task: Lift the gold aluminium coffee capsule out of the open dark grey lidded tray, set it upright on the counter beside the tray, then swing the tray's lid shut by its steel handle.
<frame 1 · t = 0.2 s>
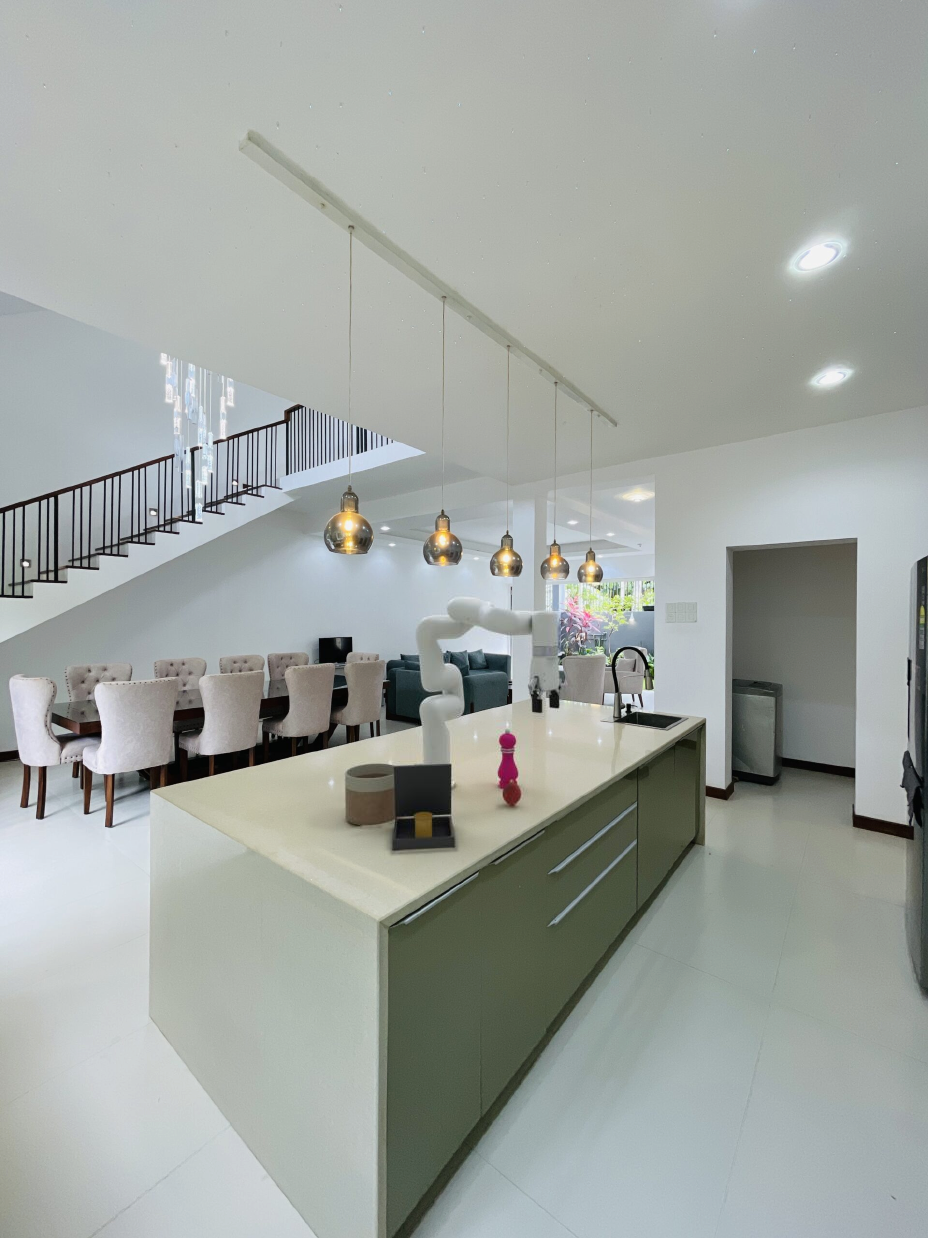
hand: (546, 710, 152), 31 cm above the table, tool pointing down, fingers open, 9 cm apart
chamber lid: (422, 786, 143), point 12 cm above the table, hinge at 75.0°
planter: (373, 817, 152), on the table
dark grey lidded tray: (423, 839, 136), on the table
onion: (511, 806, 160), on the table
coffee pod: (423, 838, 135), point 1 cm above the table, touching dark grey lidded tray
pepper mill: (508, 787, 179), on the table
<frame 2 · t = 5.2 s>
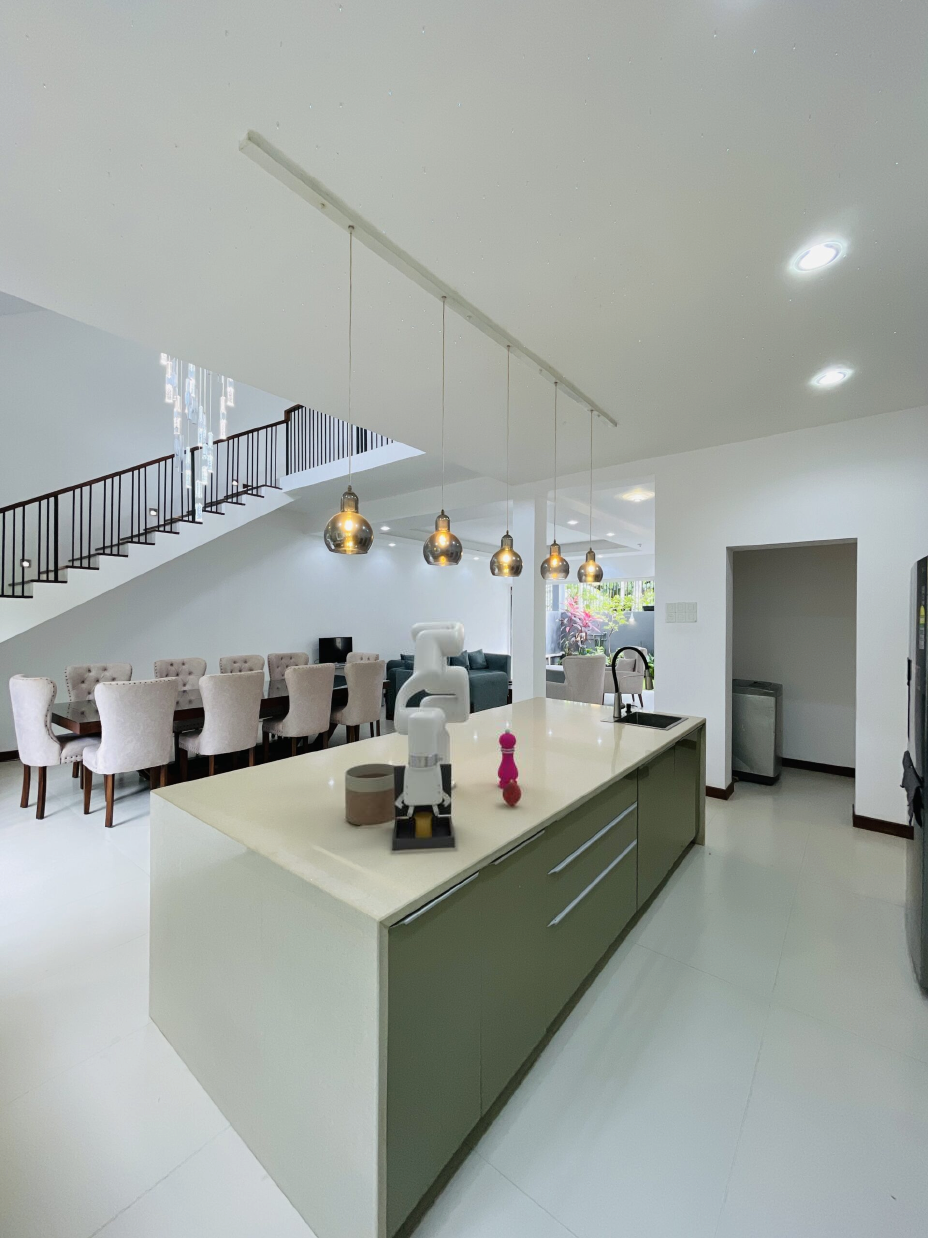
hand: (423, 829, 135), 3 cm above the table, tool pointing down, fingers closed on coffee pod, 5 cm apart
coffee pod: (423, 838, 135), point 1 cm above the table, touching dark grey lidded tray, gripper
everything else where it was.
when the fingers open (2 cm above the table, at t = 14.8 s): coffee pod stays where it is, on the table.
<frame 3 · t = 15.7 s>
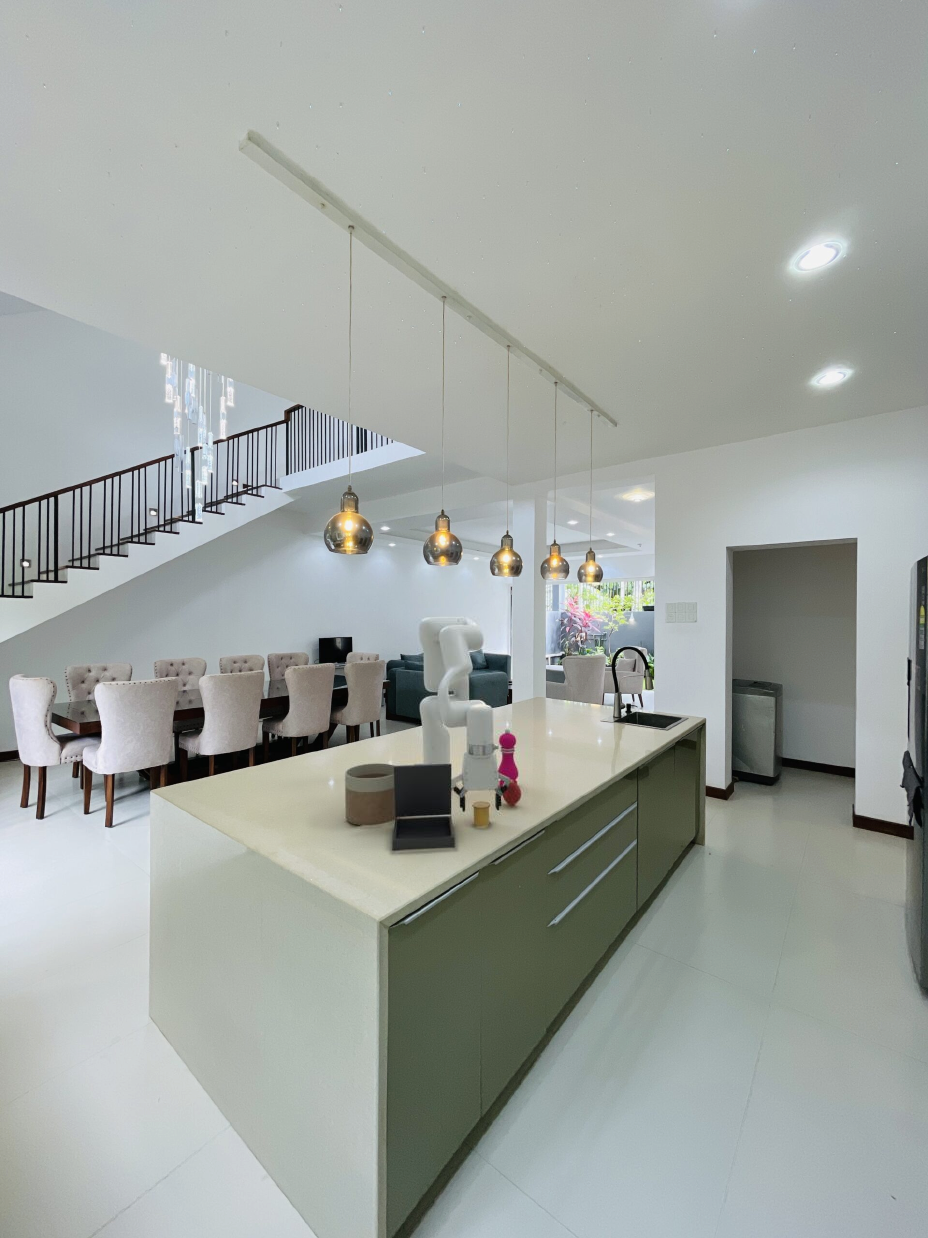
hand: (480, 809, 146), 4 cm above the table, tool pointing down, fingers open, 9 cm apart
coffee pod: (481, 825, 145), on the table
everything else where it was.
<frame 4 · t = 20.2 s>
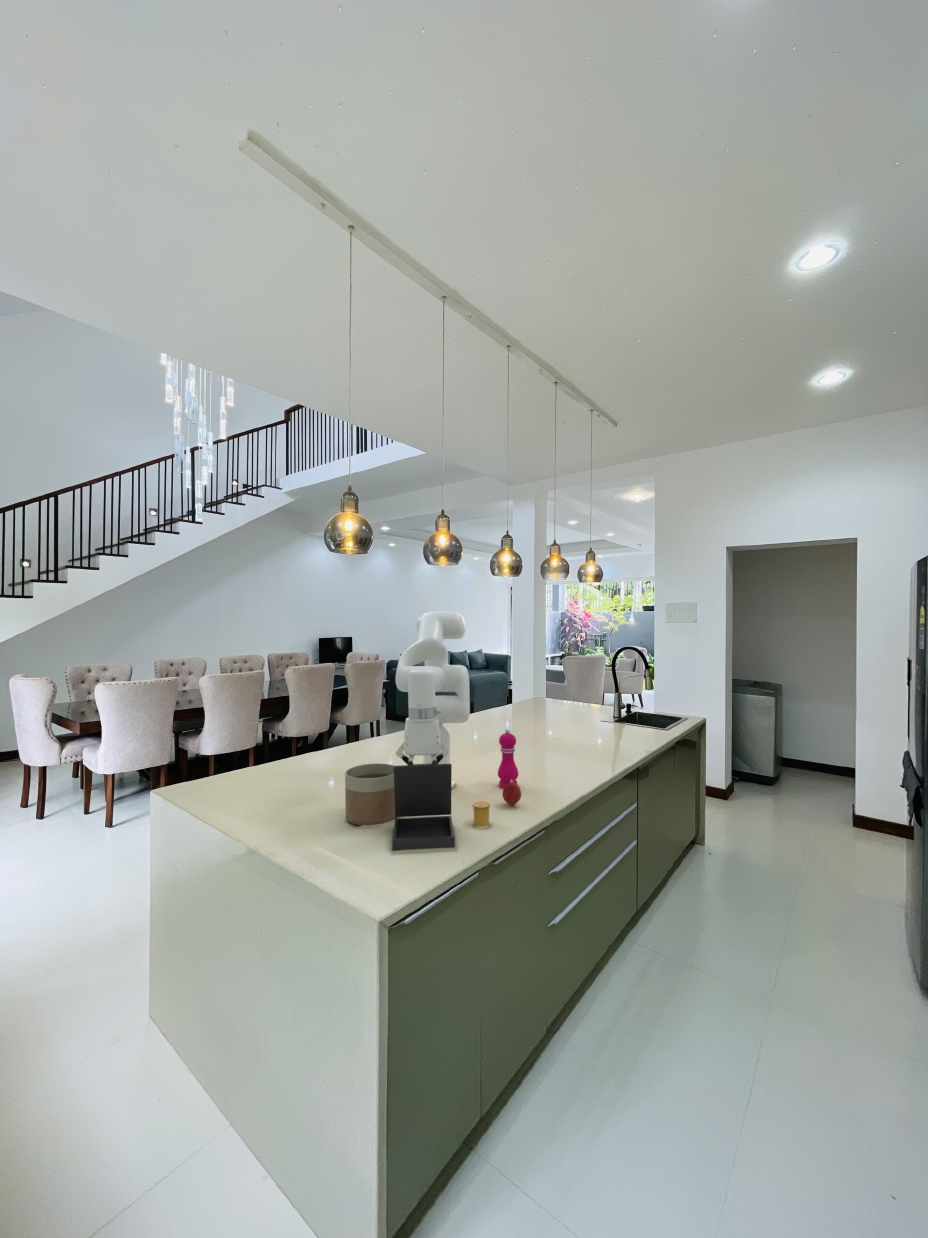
hand: (422, 778, 143), 14 cm above the table, tool pointing down, fingers closed on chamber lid, 5 cm apart
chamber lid: (422, 786, 143), point 12 cm above the table, hinge at 75.0°, touching gripper
everything else where it was.
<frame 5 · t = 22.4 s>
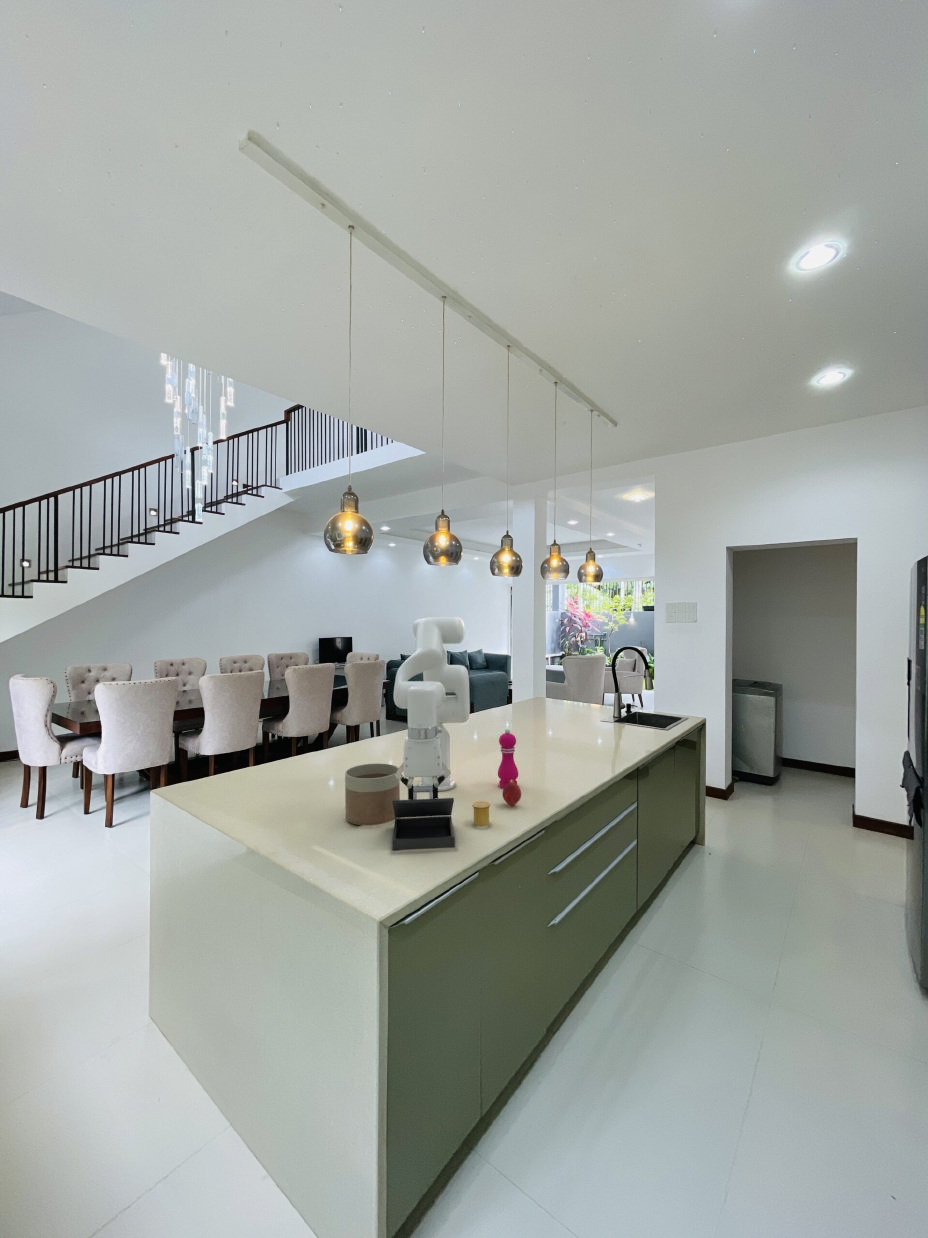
hand: (423, 800, 136), 10 cm above the table, tool pointing down, fingers closed on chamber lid, 5 cm apart
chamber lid: (423, 800, 138), point 10 cm above the table, hinge at 33.2°, touching gripper
everything else where it was.
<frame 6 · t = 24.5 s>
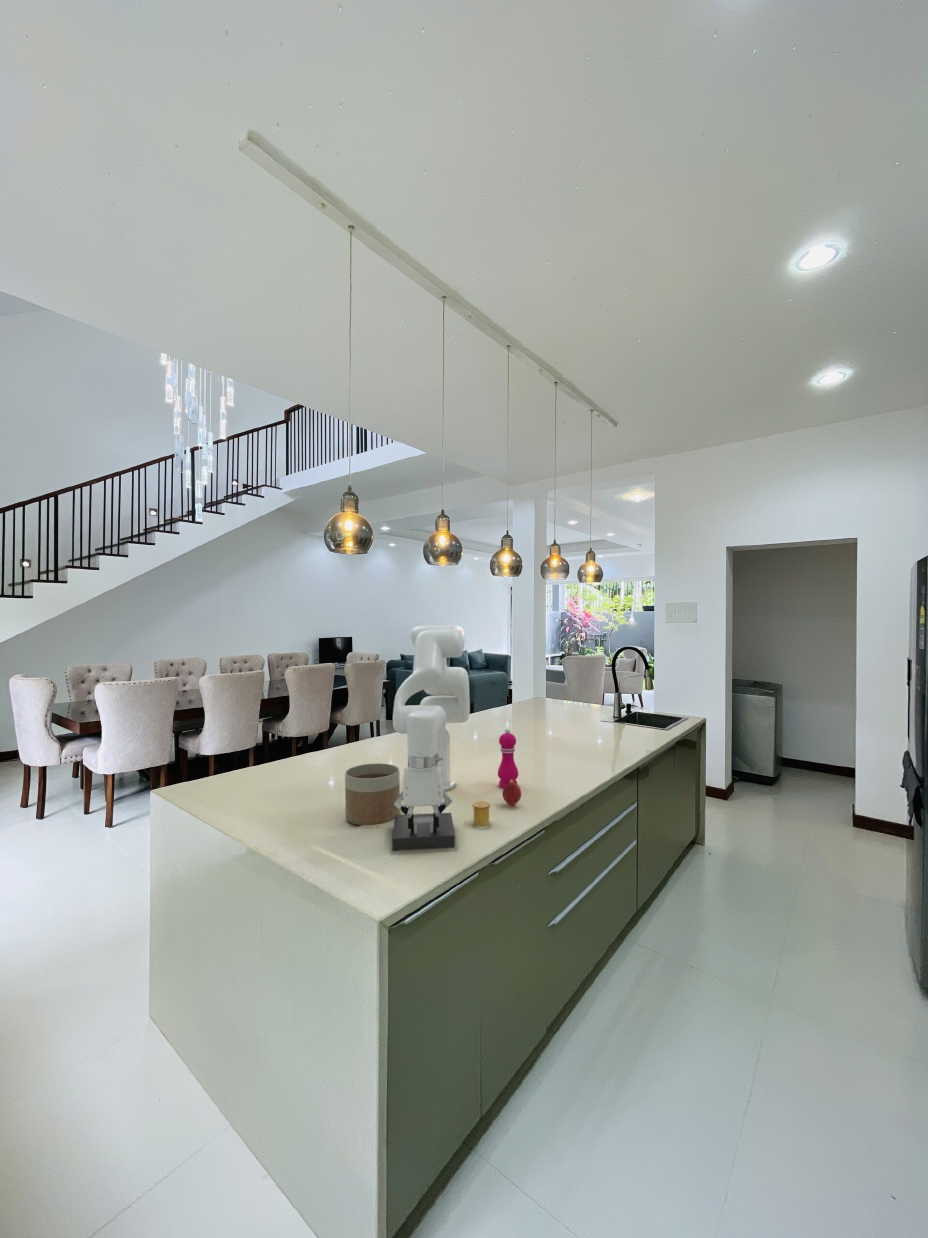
hand: (423, 830, 132), 4 cm above the table, tool pointing down, fingers closed on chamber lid, 5 cm apart
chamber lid: (423, 818, 136), point 6 cm above the table, hinge at -0.2°, touching dark grey lidded tray, gripper
everything else where it was.
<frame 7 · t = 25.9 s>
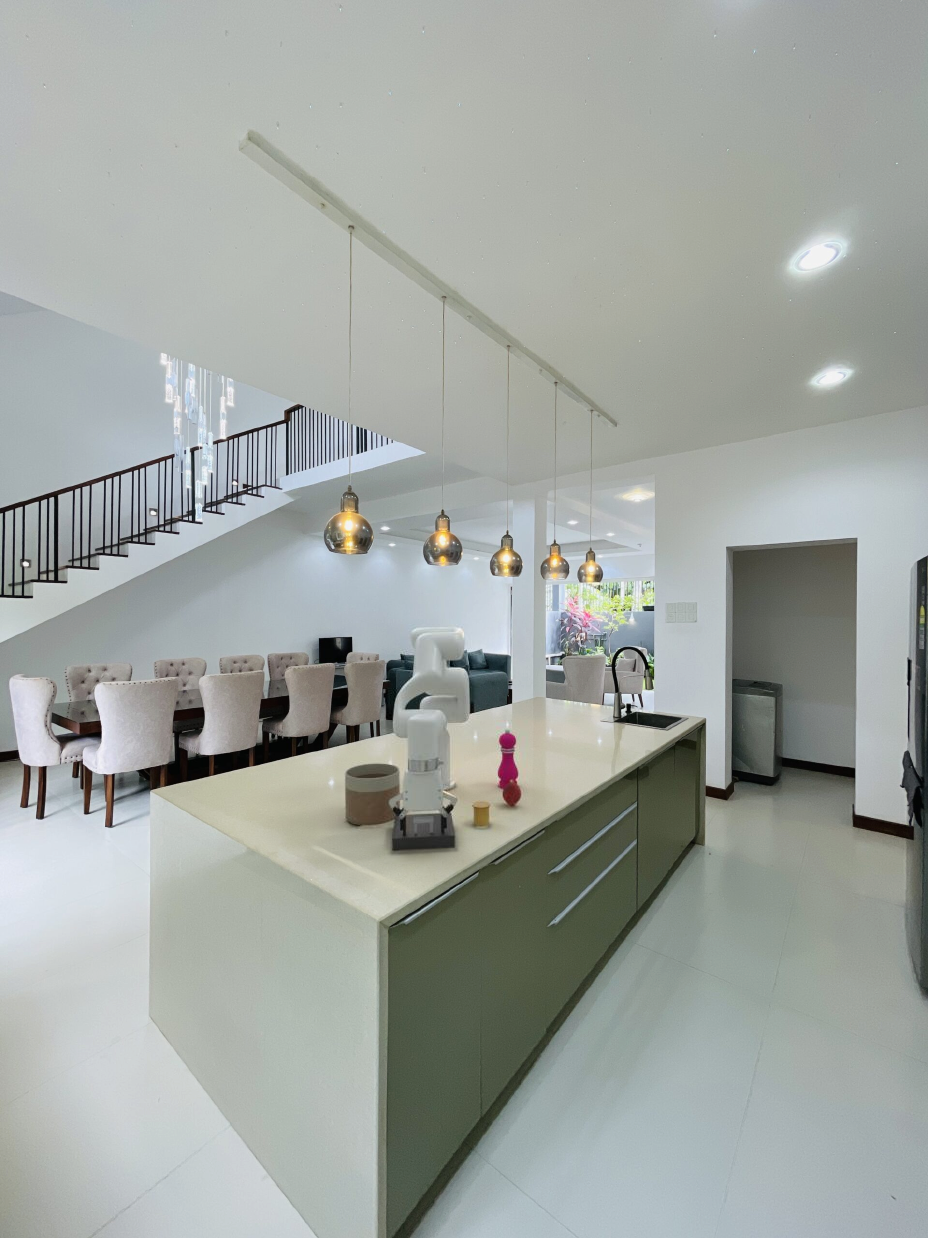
hand: (423, 832, 130), 4 cm above the table, tool pointing down, fingers open, 9 cm apart
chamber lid: (423, 818, 136), point 6 cm above the table, hinge at -0.2°, touching dark grey lidded tray
everything else where it was.
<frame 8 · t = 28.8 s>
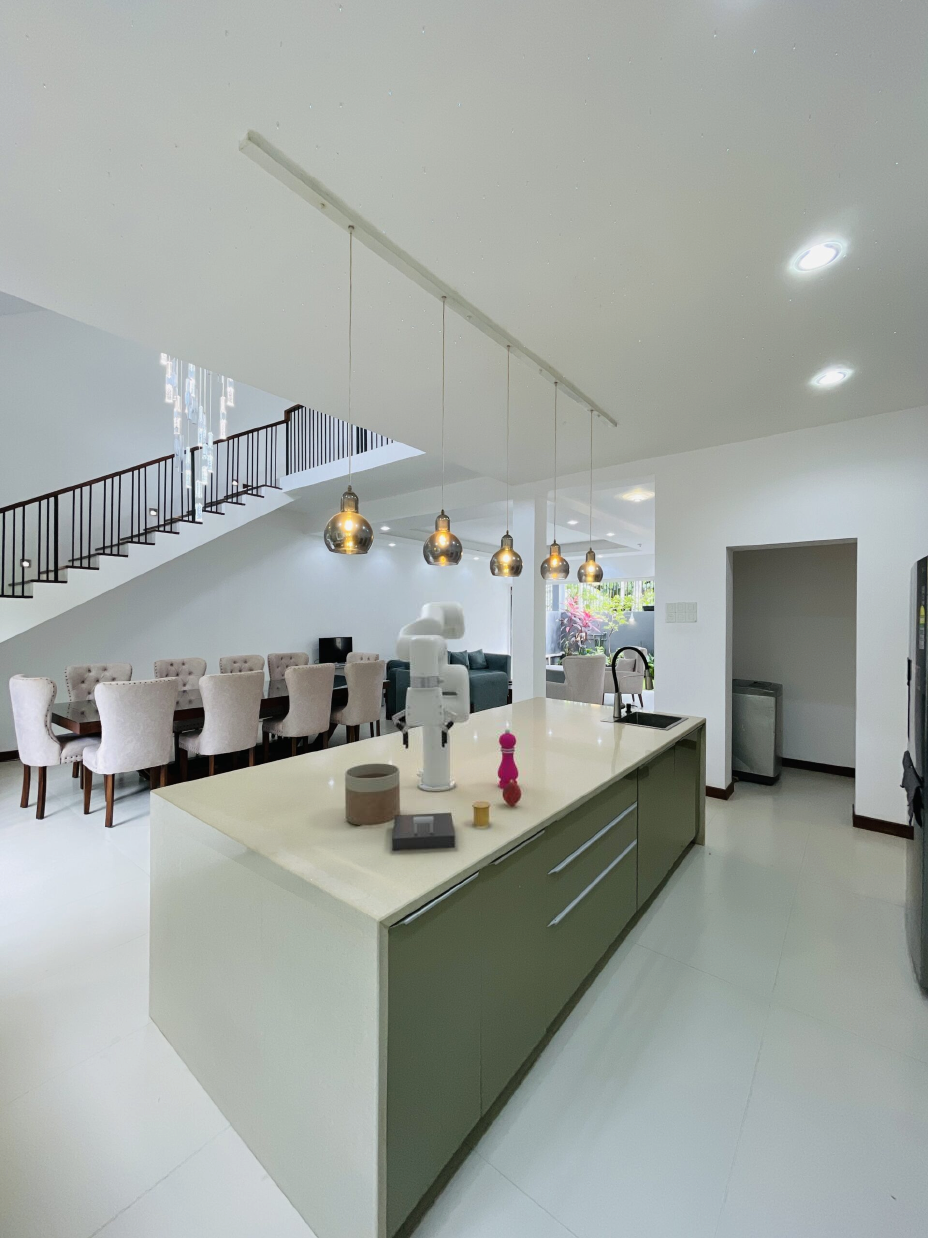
hand: (425, 747, 137), 24 cm above the table, tool pointing down, fingers open, 9 cm apart
nothing on the table moved.
at the end: coffee pod inside the target area (0.4 cm from its centre), on the table; coffee pod tilted 0°; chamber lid at +0° (first picture: +75°) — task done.
